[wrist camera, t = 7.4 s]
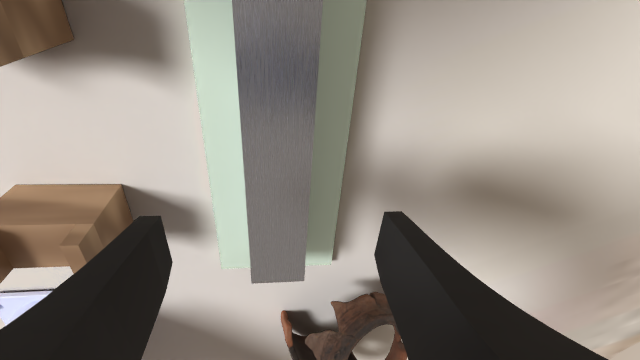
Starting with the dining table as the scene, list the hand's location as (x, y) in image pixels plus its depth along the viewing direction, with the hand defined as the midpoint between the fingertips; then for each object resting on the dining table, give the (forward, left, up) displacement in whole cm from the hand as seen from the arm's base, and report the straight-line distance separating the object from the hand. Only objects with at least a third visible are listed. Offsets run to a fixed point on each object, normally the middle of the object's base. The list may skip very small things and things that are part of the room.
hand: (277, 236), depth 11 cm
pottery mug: (-18, -5, -9) cm, 21 cm away
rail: (0, +2, -7) cm, 7 cm away
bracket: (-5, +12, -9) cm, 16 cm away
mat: (-1, 0, -9) cm, 9 cm away
